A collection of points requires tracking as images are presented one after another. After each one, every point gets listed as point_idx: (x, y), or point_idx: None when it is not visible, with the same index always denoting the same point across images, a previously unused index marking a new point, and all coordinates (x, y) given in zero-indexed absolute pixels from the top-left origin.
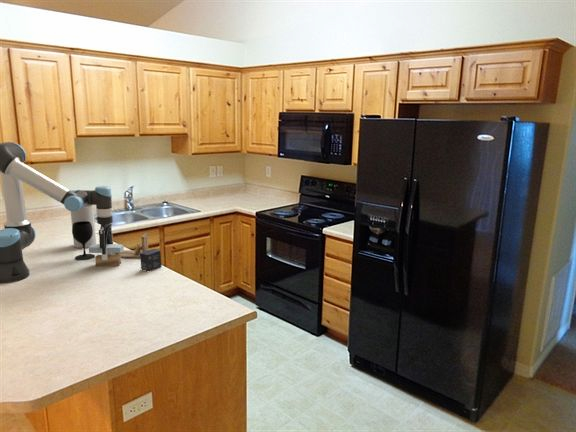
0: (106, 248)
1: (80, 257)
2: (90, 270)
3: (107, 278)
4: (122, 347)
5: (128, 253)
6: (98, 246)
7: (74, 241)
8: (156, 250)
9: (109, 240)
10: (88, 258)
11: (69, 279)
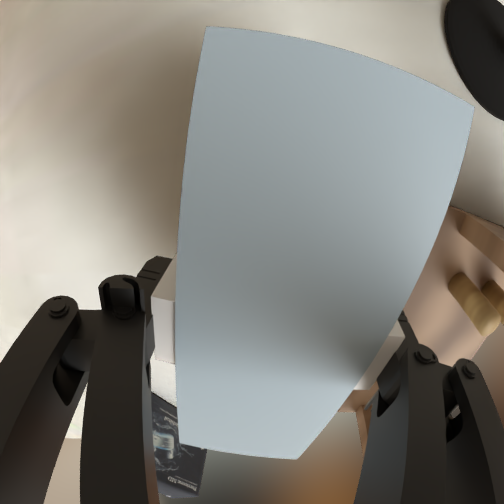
0: (157, 354)
1: (480, 19)
2: (148, 106)
3: (28, 252)
4: None
5: (441, 342)
6: (258, 240)
7: None
8: (165, 493)
9: (373, 435)
10: (463, 67)
11: (25, 45)
